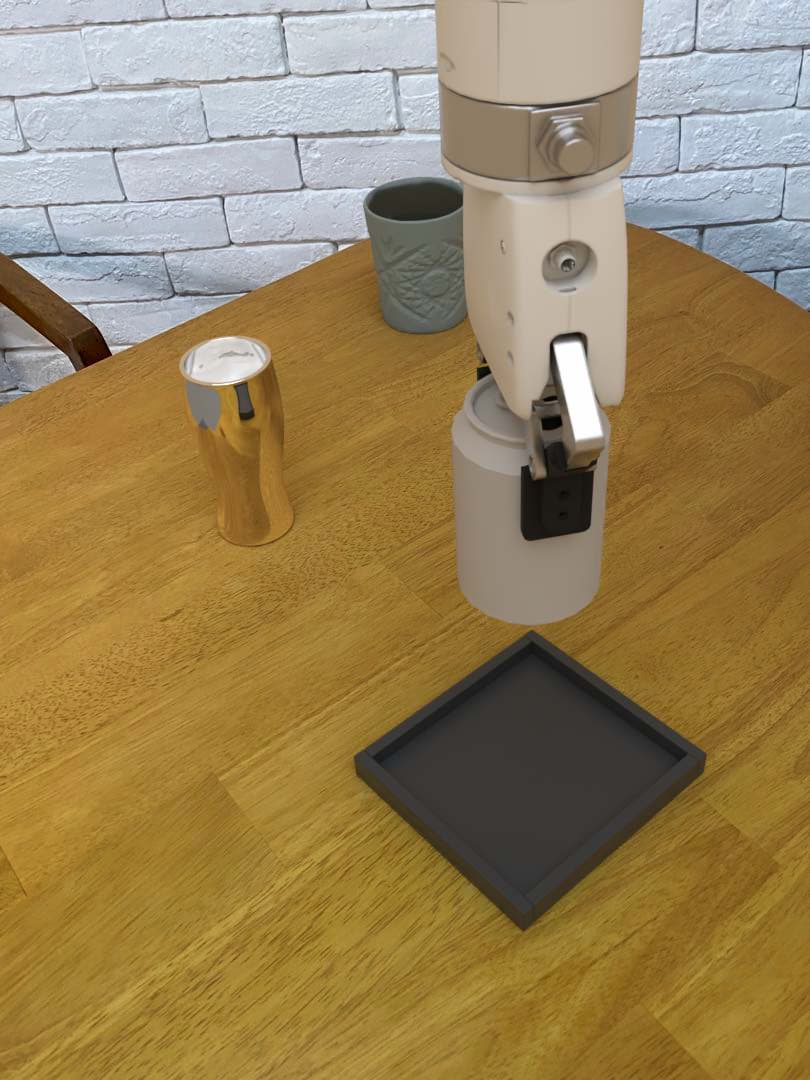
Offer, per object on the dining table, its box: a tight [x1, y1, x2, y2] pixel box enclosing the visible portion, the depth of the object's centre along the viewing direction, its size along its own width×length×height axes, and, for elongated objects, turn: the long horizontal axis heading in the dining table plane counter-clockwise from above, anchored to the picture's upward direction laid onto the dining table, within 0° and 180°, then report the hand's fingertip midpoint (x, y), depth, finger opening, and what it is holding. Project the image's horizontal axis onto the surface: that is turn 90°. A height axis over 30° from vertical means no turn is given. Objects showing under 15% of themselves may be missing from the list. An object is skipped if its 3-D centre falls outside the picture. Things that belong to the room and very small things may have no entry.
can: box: [450, 373, 612, 627], centre depth 56 cm, size 8×8×12 cm
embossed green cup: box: [362, 176, 468, 335], centre depth 109 cm, size 10×10×12 cm
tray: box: [353, 629, 708, 932], centre depth 69 cm, size 16×15×2 cm
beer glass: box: [178, 335, 295, 547], centre depth 85 cm, size 7×7×15 cm
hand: (531, 477), depth 55 cm, fingers closed on can, 7 cm apart
